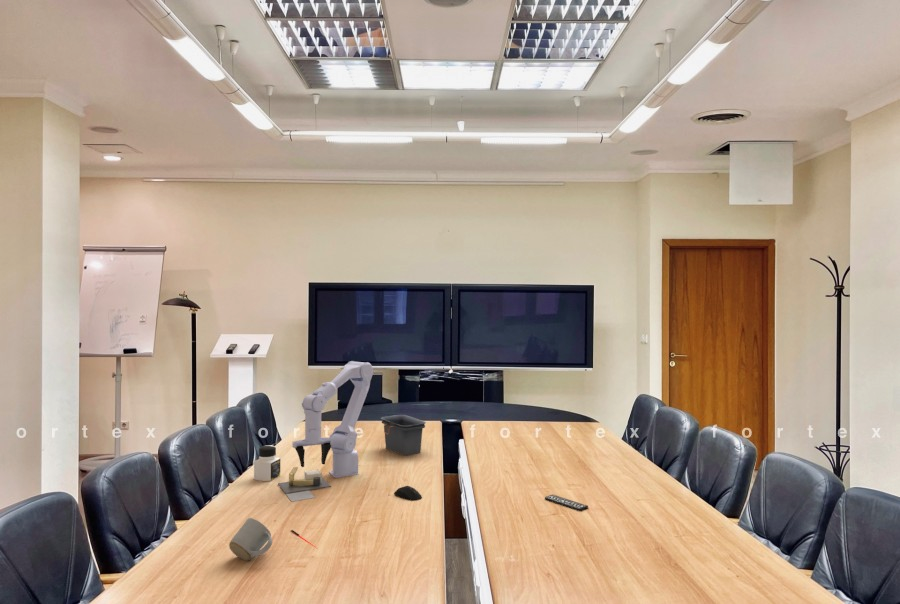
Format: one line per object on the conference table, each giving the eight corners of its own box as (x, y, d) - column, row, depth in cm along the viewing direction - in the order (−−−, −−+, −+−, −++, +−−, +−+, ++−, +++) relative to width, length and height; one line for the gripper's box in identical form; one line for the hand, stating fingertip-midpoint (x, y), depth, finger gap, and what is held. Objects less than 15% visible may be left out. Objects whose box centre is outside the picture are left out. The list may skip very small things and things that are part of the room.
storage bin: (429, 454, 249) (429, 421, 249) (399, 460, 239) (399, 426, 239) (402, 444, 266) (402, 414, 266) (373, 449, 256) (374, 418, 256)
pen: (290, 531, 165) (290, 527, 165) (322, 553, 151) (322, 549, 151) (288, 532, 164) (288, 528, 164) (319, 555, 150) (319, 550, 150)
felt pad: (309, 491, 199) (309, 490, 199) (315, 498, 192) (315, 497, 192) (285, 495, 195) (286, 494, 195) (291, 502, 188) (291, 501, 188)
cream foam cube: (317, 478, 211) (317, 469, 211) (321, 482, 206) (321, 473, 206) (304, 480, 208) (304, 471, 208) (307, 484, 204) (308, 475, 204)
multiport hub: (552, 500, 192) (552, 494, 192) (588, 512, 181) (588, 505, 181) (544, 503, 189) (544, 497, 189) (580, 516, 178) (580, 508, 178)
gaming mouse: (417, 507, 185) (417, 495, 185) (390, 496, 196) (390, 484, 196) (431, 503, 189) (431, 491, 189) (404, 492, 200) (404, 480, 200)
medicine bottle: (271, 481, 210) (271, 449, 210) (253, 480, 211) (253, 448, 211) (280, 476, 217) (280, 444, 217) (263, 474, 218) (263, 443, 218)
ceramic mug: (241, 564, 147) (221, 543, 146) (263, 538, 153) (244, 518, 152) (259, 562, 140) (238, 540, 139) (281, 535, 146) (261, 513, 145)
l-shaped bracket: (293, 478, 211) (293, 466, 211) (322, 477, 212) (323, 466, 212) (288, 486, 201) (288, 474, 201) (319, 485, 202) (319, 473, 202)
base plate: (321, 478, 213) (321, 476, 213) (331, 488, 203) (331, 485, 203) (278, 485, 206) (278, 483, 206) (285, 495, 195) (285, 492, 195)
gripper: (329, 423, 214) (329, 459, 214) (290, 427, 207) (290, 464, 207) (335, 427, 208) (334, 464, 208) (295, 431, 201) (295, 469, 201)
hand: (312, 465), depth 207 cm, fingers open, 7 cm apart
